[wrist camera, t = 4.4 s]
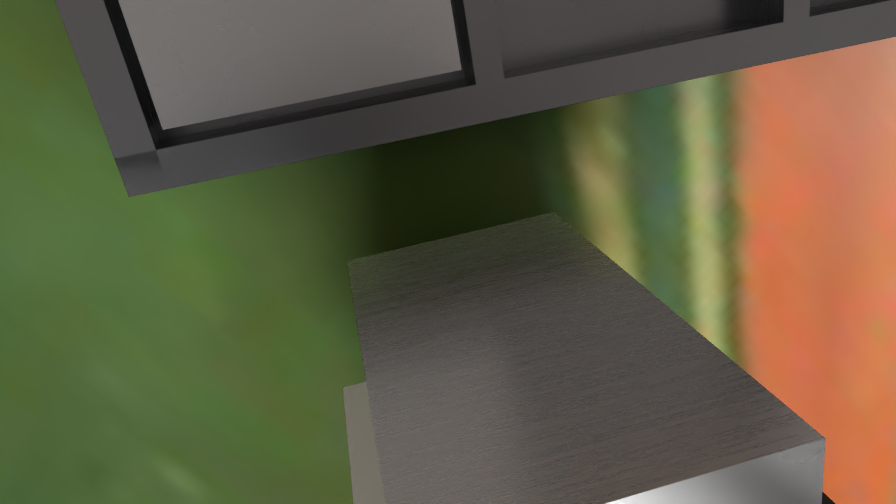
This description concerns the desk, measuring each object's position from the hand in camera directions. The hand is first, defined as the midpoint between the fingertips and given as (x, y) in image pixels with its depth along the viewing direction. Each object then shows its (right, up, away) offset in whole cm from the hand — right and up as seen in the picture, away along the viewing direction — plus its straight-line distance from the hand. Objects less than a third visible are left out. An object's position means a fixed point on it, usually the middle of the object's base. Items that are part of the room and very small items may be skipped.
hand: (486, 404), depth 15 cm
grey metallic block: (0, 0, 0) cm, 0 cm away
